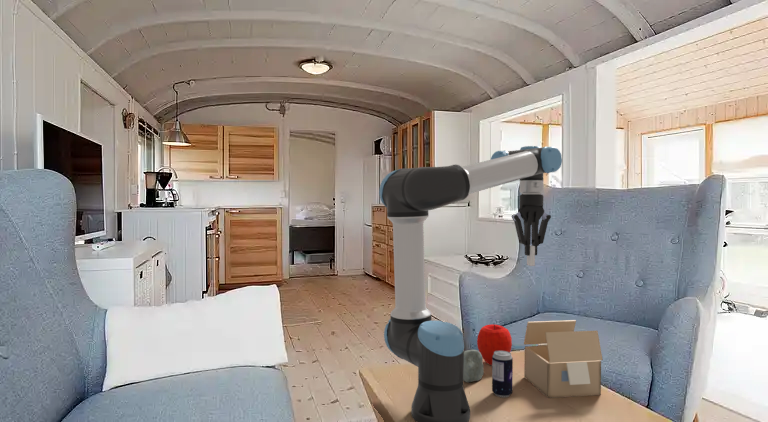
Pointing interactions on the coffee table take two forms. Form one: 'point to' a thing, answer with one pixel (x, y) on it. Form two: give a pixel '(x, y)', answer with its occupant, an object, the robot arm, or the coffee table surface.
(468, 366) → the decorative stone
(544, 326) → the far flap
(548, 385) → the carton
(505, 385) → the beverage can
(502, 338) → the apple
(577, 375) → the near flap
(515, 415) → the coffee table surface
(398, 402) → the coffee table surface
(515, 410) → the coffee table surface
